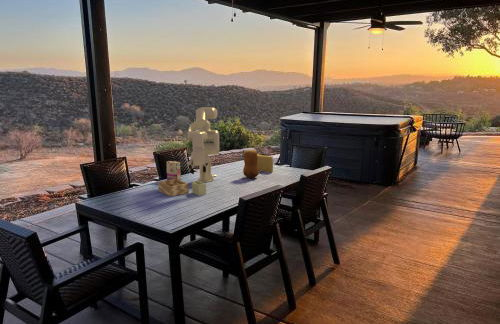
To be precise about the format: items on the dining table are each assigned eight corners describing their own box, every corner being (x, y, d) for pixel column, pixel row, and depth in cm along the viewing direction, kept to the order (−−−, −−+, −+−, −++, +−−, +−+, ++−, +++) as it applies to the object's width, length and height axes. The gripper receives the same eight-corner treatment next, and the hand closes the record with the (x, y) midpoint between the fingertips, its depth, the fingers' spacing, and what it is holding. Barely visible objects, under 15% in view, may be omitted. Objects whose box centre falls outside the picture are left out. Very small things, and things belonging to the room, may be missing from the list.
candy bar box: (181, 181, 293) (180, 161, 290) (177, 182, 289) (176, 162, 286) (170, 179, 298) (169, 160, 295) (166, 181, 294) (165, 161, 291)
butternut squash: (252, 175, 315) (252, 147, 310) (262, 178, 305) (262, 149, 300) (239, 177, 307) (239, 149, 302) (249, 180, 296) (249, 151, 292)
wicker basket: (176, 187, 273) (176, 178, 272) (188, 193, 259) (188, 183, 257) (158, 190, 264) (158, 181, 263) (169, 196, 250) (169, 187, 248)
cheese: (275, 172, 330) (276, 156, 328) (269, 173, 323) (269, 157, 320) (257, 168, 345) (258, 153, 342) (251, 170, 338) (251, 154, 335)
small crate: (199, 191, 263) (199, 181, 262) (206, 194, 256) (205, 183, 254) (192, 192, 260) (191, 182, 258) (198, 195, 252) (198, 185, 251)
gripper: (205, 148, 260) (206, 170, 262) (184, 149, 249) (185, 173, 252) (211, 149, 254) (211, 172, 257) (189, 151, 243) (190, 175, 246)
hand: (198, 173), depth 254 cm, fingers open, 9 cm apart
